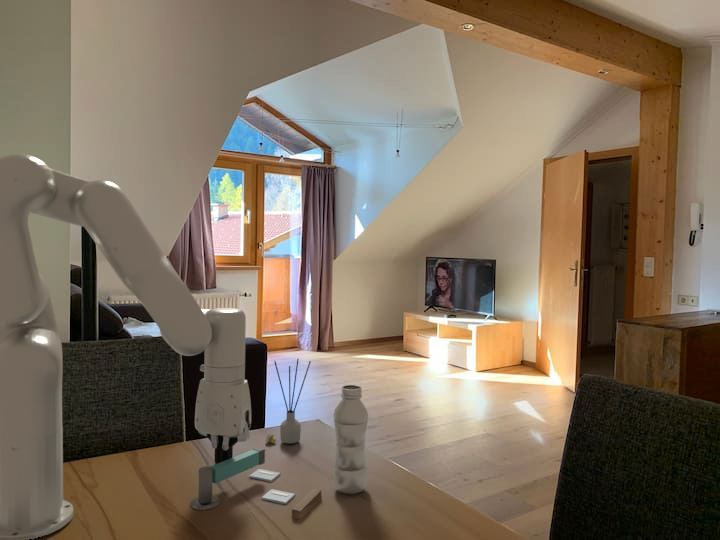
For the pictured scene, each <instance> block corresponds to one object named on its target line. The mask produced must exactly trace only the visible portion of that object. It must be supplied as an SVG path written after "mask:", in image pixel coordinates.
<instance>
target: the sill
mask: <svg viewBox="0 0 720 540" xmlns="http://www.w3.org/2000/svg"><path fill="white" fill-rule="evenodd" d="M321 499H322V489H318V488H312V489H311V490H310V491H309V492H308V493H307V494H306V495H305V496H304V497H303V498H302V499H301V500H300V501H299V502H297V504H296V505H295V506H293V508H292V509H291V518H292V519H296V520H301V519H303V517H305V515H306V514H307V513H308V512H309V511H311V509H313V507H315V505H316V504H317V503H318V502H319V501H320V500H321Z"/></svg>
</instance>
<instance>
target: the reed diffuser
mask: <svg viewBox="0 0 720 540" xmlns="http://www.w3.org/2000/svg"><path fill="white" fill-rule="evenodd" d="M310 365H311V360H309V362H308V365H307V368H306V371H305V375H304V377H303V381H302V384H301V387H300V390H299V393H298V396H297V398H296V402H295V405H294V408H293V404H294V397H295V396H294V395H295V387H296V382H297V373H298V366H299V358H297V360H296V366H295V367H296V368H295V374H294V381H293V382H294V383H293V390H292V398H291V365H289V366H288V389H289V391H288V393H289V395H288V397H289V400H288V401H289V403H288V404H287V400H286V396H285V393H284V389H283V385H282V381H281V378H280V373H279V370H278V367H277V366H278V365H277V362H276V360H274V366H275V369H276V373H277V377H278V381H279V385H280V388H281V392H282V397H283V399H284V404H285V407H286V419H284V420H283V421H282V422H281V423H280V441H281V443H285V444H296V443H298V442H300V441H301V431H302V427H301V426H302V425H301V422H299V420H298V419H296V418H295V417H296V415H295V414H296V412H295V411H296V409H297V406H298V402H299V399H300V396H301V392H302V390H303V387H304V383H305V380H306V377H307V374H308V371H309V368H310ZM288 407H289V408H288ZM265 442H266V443H268V442H269V443H272V444H275V443H276V442H277V439H276V438H275V437H274V434H273V433H269V434H268V435H267V436H266V438H265Z"/></svg>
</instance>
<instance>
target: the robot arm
mask: <svg viewBox="0 0 720 540" xmlns="http://www.w3.org/2000/svg"><path fill="white" fill-rule="evenodd" d="M31 213H32V214H35V215H38V216H43V217H46V218H50V219H53V220H56V221H60V222H64V223H67V224H71V225H76V226H79V227H83V228H84V229H85V230H86V232H87V233H88V234H89V236H90V237H91V239H92V241H93V242H94V244H95V245H96V246H97V248H98V249H99V250H100V252H101V253H102V255H103V256H104V259H106V261H107V262H108V264H109V265H110V267H111V268H112V269H113V270H112V271H114V273H115V274H116V275H117V277H118V279H119V280H120V281H121V282H122V284H123V285H124V286H125V287H126V288H127V289H128V290H129V291H130V292H131V293H132V294H133V295H134V297H136V298H137V300H138V301H139V302H140V303H141V304H142V306H143V308H145V310H146V311H147V313H148V314H149V316H150V317H151V319H152V320H153V321H154V323H155V324H156V326H157V327H158V329H159V332H160V335H161V337H162V339H163V340H164V342H165V343H167V345H168V346H170V348H171V349H172V350H174V352H175V353H178V354H179V355H182V356H185V357H192V356H196V355H199V354H201V353H203V352H204V364H201V365H200V366H199V371H200V372H203V377H204V378H203V377H202V379H200V380H199V384H198V389H197V395H196V401H195V411H194V427H195V430H197V431H198V433H199V434H200V435H201V436H204V437H206V438H207V439H208V440H209V441H210V444H211V447H212V449H214V463H215V464H218V463H220V462H223V461H225V460H228V459H230V458H233V451H234V450H233V447H234V446H235V445H236V444H237V443H241V442H242V443H243V442H246V441H249V439H251V435H250V429H251V426H252V403H251V402H252V401H251V394H250V393H251V392H250V388H249V383H248V379H246V378H245V377H246V375H245V374H246V327H247V326H246V324H247V321H246V314H245V312H244V311H243V310H242V309H240V308H237V307H236V308H235V307H217V308H215V307H214V308H212V309H208V308H207V309H206V308H201V307H200V305H199V304H198V303H197V300H196V298H195V297H194V296H193V294H192V293H191V291H190V290H189V288H188V286H186V284H185V282H184V281H183V280H182V278H181V277H180V276H179V274H178V273H177V271H176V270H175V269H174V266H173V265H172V263H171V261H170V260H169V259H168V257H167V255H166V254H165V253H164V251H163V249H162V248H161V247H160V246H159V244H158V243H157V240H155V238H154V236H153V234H152V233H151V231H150V230H149V228H148V227H147V225H146V224H145V223H144V221H143V219H142V218H141V216H140V214H139V213H138V210H136V209H135V206H134V205H133V204H132V202H131V200H130V199H129V197H128V196H127V195H126V193H125V191H123V189H122V188H121V187H120V186H119V185H118V184H115V183H114V182H112V181H109V180H104V179H100V180H99V179H96V180H88V179H85V178H80V177H78V176H75V175H74V176H73V175H72V174H68V173H65V172H62V171H59V170H56V169H53V168H50V167H49V166H48V165H47V164H46V162H44V161H43V160H42V159H39V158H38V157H36V156H34V155H31V154H27V153H12V154H7V155H5V156H2V157H0V540H29V539H32V540H35V538H36V539H39V538H38V537H40V538H43V537H46V536H48V535H50V534H52V533H54V532H57V531H59V530H60V529H62V528H63V527H65V526H67V525H68V524H69V522H71V520H72V518H73V517H74V505H73V504H72V503H71V502H69V501H67V500H66V499H64V449H63V446H64V445H63V443H64V442H63V441H64V440H63V439H64V438H63V436H64V435H63V434H64V433H63V431H64V430H63V373H64V372H63V364H64V363H63V346H62V345H63V344H62V340H61V337H60V332H59V329H58V324H57V319H56V314H55V311H54V306H53V303H52V298H51V294H50V289H49V287H48V283H47V281H46V279H45V278H44V277H43V275H42V274H41V273H40V272H39V268H38V265H37V261H36V257H35V253H34V247H33V241H32V238H31V234H30V229H29V221H28V219H29V215H30V214H31ZM215 464H214V465H215ZM45 535H46V536H45ZM42 536H43V537H42Z"/></svg>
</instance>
